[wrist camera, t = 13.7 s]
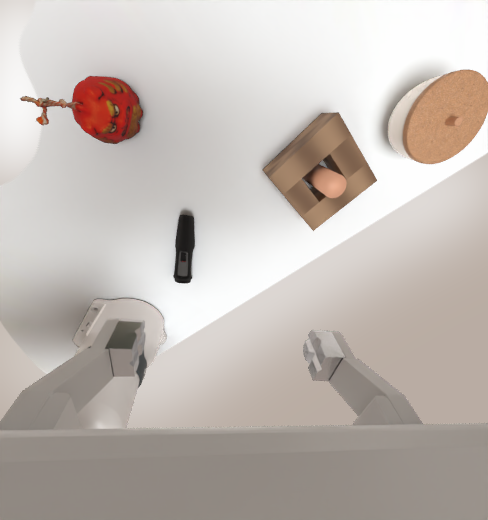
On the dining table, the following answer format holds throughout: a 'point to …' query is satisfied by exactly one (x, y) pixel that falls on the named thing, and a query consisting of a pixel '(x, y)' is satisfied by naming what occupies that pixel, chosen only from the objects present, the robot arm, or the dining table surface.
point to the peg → (326, 181)
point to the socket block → (312, 153)
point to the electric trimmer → (184, 249)
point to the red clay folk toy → (100, 108)
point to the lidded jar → (439, 116)
